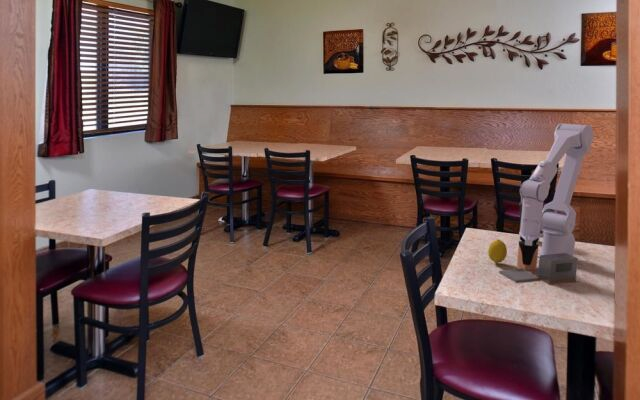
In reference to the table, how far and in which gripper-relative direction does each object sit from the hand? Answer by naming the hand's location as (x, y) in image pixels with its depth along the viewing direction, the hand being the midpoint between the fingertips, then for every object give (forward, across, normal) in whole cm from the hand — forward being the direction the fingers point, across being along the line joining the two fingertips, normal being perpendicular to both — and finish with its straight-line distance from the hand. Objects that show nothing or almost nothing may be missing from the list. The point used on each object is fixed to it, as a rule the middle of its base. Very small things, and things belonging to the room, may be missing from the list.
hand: (527, 261), depth 159 cm
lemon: (+2, 0, +9) cm, 9 cm away
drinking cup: (+2, +32, +1) cm, 32 cm away
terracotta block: (+2, 0, 0) cm, 2 cm away
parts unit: (+2, -7, -8) cm, 11 cm away
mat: (+2, -9, +2) cm, 9 cm away
